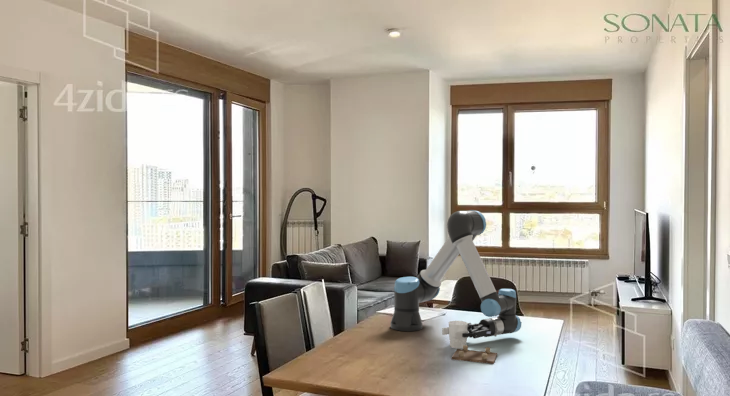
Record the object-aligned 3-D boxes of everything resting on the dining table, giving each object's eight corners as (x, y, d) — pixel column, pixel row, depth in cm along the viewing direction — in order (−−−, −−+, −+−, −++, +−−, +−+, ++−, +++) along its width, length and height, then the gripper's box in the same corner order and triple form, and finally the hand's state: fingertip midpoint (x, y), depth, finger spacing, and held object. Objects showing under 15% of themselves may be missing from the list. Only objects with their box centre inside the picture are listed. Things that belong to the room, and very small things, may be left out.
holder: (451, 359, 223) (451, 351, 223) (457, 351, 234) (457, 343, 234) (493, 363, 218) (493, 356, 218) (497, 355, 229) (497, 347, 229)
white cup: (467, 349, 237) (467, 325, 236) (447, 348, 238) (448, 324, 238) (467, 344, 244) (468, 321, 244) (449, 343, 246) (449, 320, 246)
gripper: (507, 341, 241) (465, 348, 230) (474, 330, 259) (433, 337, 248) (507, 323, 241) (465, 330, 230) (474, 314, 259) (434, 319, 247)
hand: (449, 333), depth 239 cm, fingers closed on white cup, 7 cm apart
